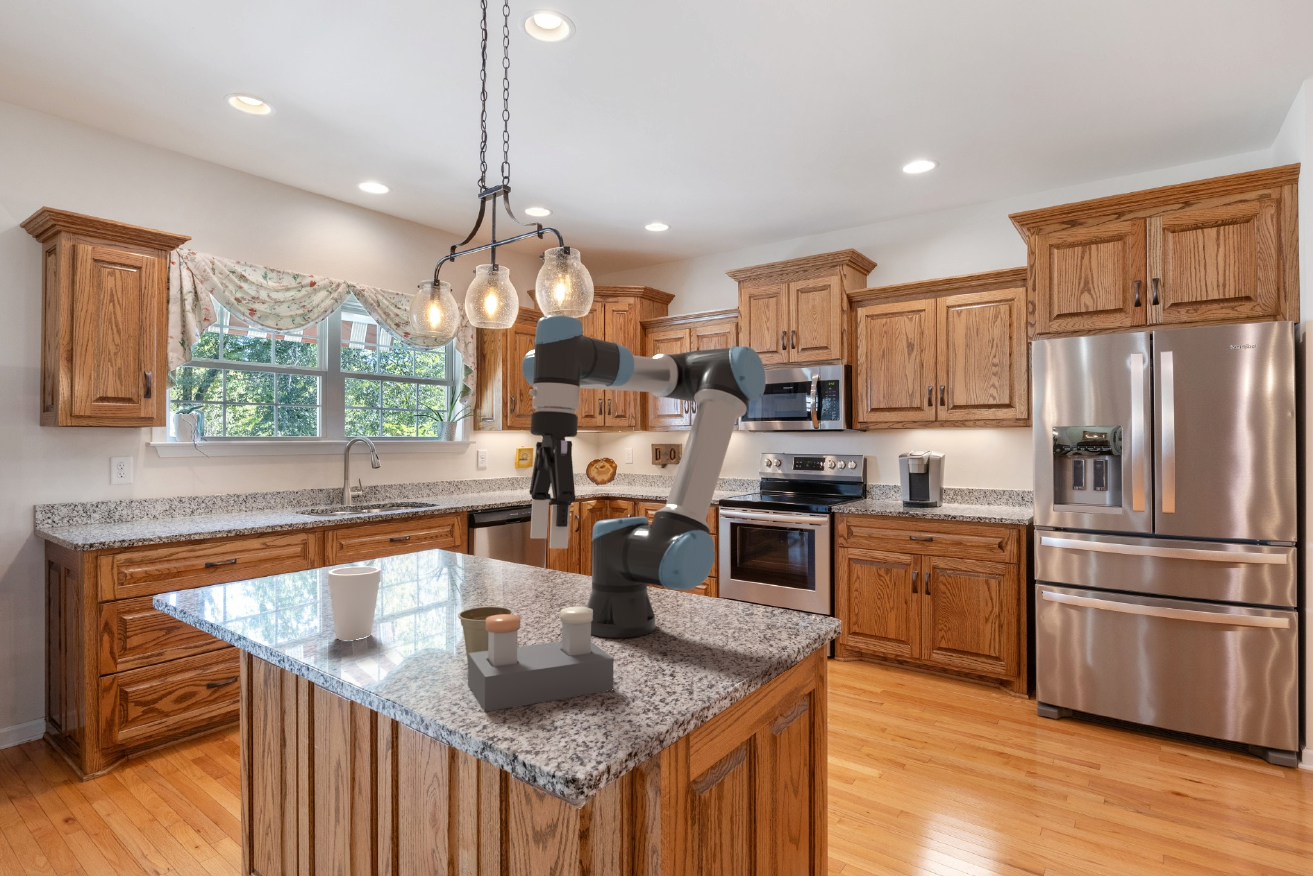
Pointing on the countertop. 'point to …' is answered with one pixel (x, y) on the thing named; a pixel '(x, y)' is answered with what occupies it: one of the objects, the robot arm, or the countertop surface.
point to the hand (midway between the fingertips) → (548, 543)
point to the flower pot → (478, 626)
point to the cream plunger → (576, 630)
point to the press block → (538, 676)
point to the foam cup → (354, 600)
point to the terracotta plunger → (502, 639)
